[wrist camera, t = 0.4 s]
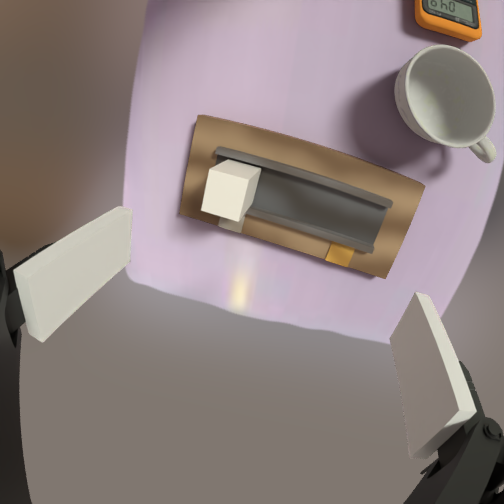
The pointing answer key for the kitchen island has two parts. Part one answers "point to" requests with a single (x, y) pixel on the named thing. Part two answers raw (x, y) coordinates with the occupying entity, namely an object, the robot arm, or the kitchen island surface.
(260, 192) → the wooden slider track
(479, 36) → the multimeter
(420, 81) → the teacup
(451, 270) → the kitchen island surface
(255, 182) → the switch knob
